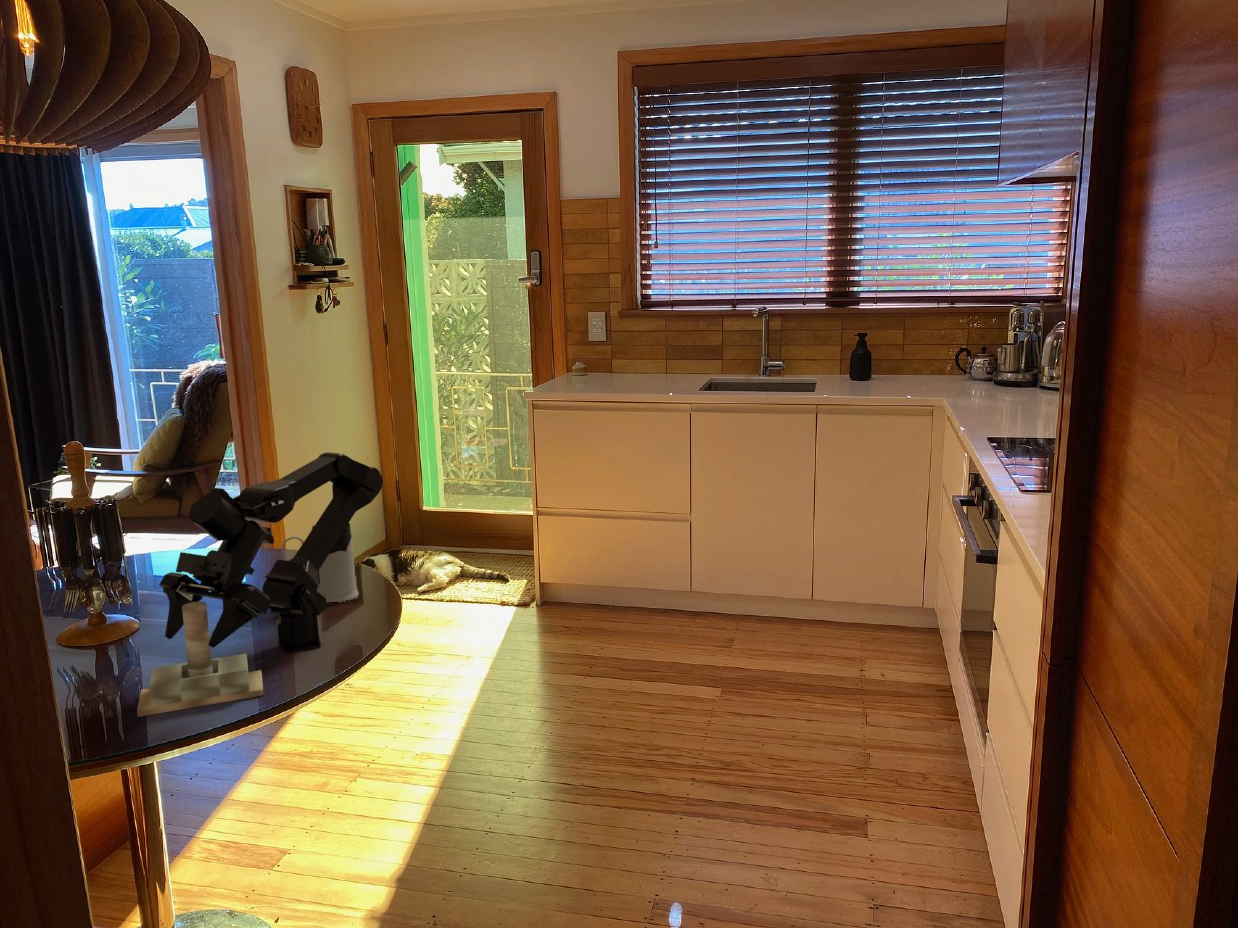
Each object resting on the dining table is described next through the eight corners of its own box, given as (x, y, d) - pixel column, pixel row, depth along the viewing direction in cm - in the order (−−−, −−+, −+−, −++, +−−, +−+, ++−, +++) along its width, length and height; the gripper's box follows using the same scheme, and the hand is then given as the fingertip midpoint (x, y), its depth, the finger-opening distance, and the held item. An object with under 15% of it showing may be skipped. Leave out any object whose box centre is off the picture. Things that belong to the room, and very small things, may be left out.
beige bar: (205, 682, 153) (197, 600, 150) (219, 687, 151) (211, 603, 148) (185, 690, 150) (177, 606, 147) (199, 695, 148) (191, 610, 145)
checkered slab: (261, 675, 158) (259, 650, 157) (263, 695, 150) (260, 668, 149) (142, 695, 151) (138, 669, 150) (137, 716, 144) (134, 689, 143)
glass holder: (362, 598, 194) (357, 528, 191) (290, 610, 188) (283, 537, 184) (354, 586, 201) (348, 518, 198) (284, 597, 195) (277, 527, 192)
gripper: (161, 524, 152) (110, 612, 145) (249, 535, 145) (199, 629, 137) (205, 557, 161) (159, 641, 153) (290, 569, 154) (246, 658, 146)
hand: (189, 642), depth 147 cm, fingers open, 9 cm apart
